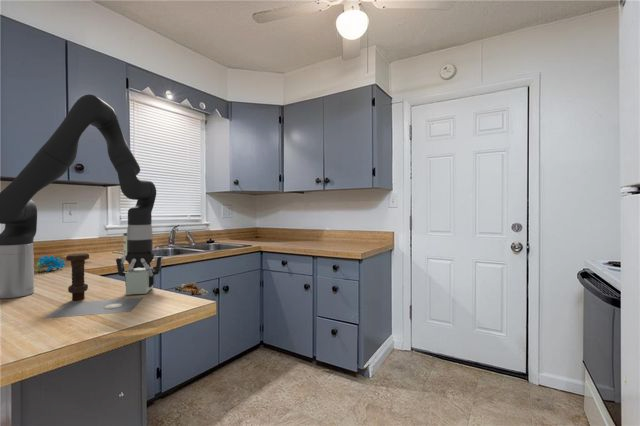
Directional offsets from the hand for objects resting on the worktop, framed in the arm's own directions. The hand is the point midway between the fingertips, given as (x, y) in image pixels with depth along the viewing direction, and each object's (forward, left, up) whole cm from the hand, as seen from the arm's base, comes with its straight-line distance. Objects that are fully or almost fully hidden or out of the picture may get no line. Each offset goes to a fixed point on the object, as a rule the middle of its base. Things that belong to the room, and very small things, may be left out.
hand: (140, 287), depth 107 cm
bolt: (-16, -5, -3) cm, 17 cm away
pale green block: (0, 0, -1) cm, 1 cm away
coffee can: (-27, +93, -3) cm, 96 cm away
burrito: (+17, -2, -3) cm, 17 cm away
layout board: (-7, -15, -3) cm, 17 cm away
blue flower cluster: (-51, +56, -3) cm, 76 cm away
